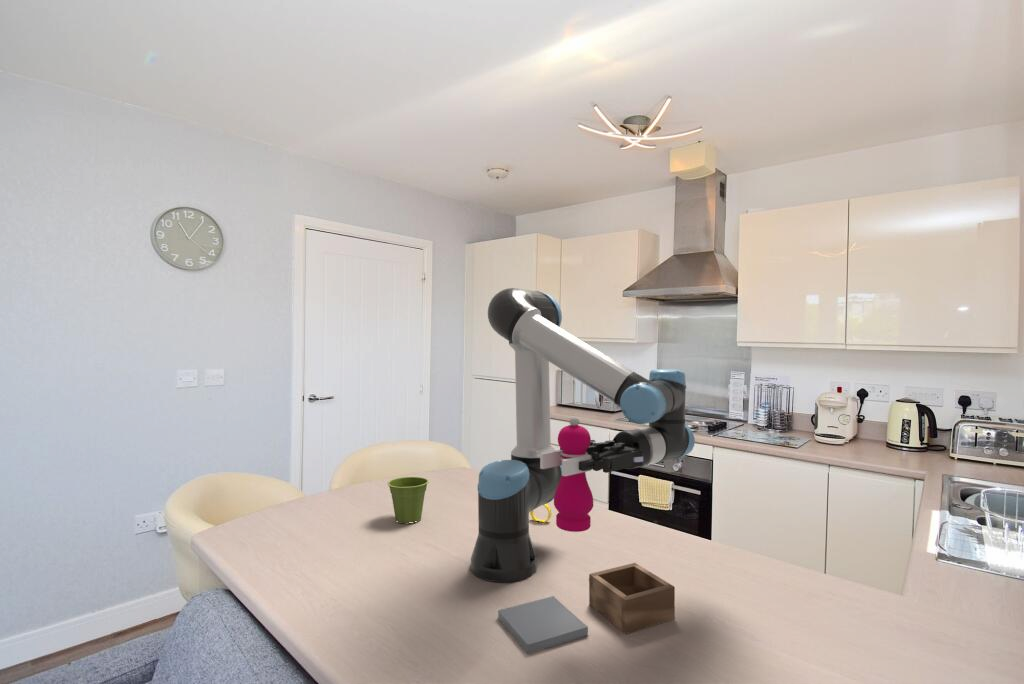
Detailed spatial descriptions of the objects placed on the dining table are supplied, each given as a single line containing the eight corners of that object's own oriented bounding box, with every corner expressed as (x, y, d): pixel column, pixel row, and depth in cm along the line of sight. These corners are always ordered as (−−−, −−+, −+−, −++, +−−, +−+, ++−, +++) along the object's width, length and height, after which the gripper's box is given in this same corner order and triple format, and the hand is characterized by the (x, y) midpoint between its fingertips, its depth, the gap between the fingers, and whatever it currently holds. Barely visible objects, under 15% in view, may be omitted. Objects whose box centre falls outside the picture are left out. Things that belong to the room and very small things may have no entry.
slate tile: (498, 618, 96) (498, 610, 96) (553, 603, 101) (553, 596, 101) (527, 653, 85) (527, 644, 85) (587, 635, 90) (587, 626, 90)
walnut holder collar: (589, 604, 101) (589, 573, 101) (634, 591, 106) (634, 562, 106) (626, 634, 90) (625, 600, 90) (674, 618, 95) (674, 586, 95)
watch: (551, 522, 147) (553, 502, 146) (548, 525, 144) (549, 505, 144) (532, 517, 149) (533, 497, 149) (528, 521, 147) (530, 500, 146)
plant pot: (437, 517, 150) (437, 479, 150) (409, 530, 140) (408, 489, 140) (407, 510, 156) (407, 474, 156) (378, 522, 146) (378, 483, 146)
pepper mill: (568, 536, 88) (569, 421, 88) (545, 522, 95) (546, 415, 94) (601, 528, 92) (602, 418, 91) (577, 516, 98) (578, 412, 98)
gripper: (675, 476, 97) (588, 499, 83) (604, 457, 111) (520, 474, 97) (675, 436, 97) (589, 453, 82) (604, 423, 111) (520, 435, 97)
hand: (552, 464), depth 90 cm, fingers closed on pepper mill, 5 cm apart
